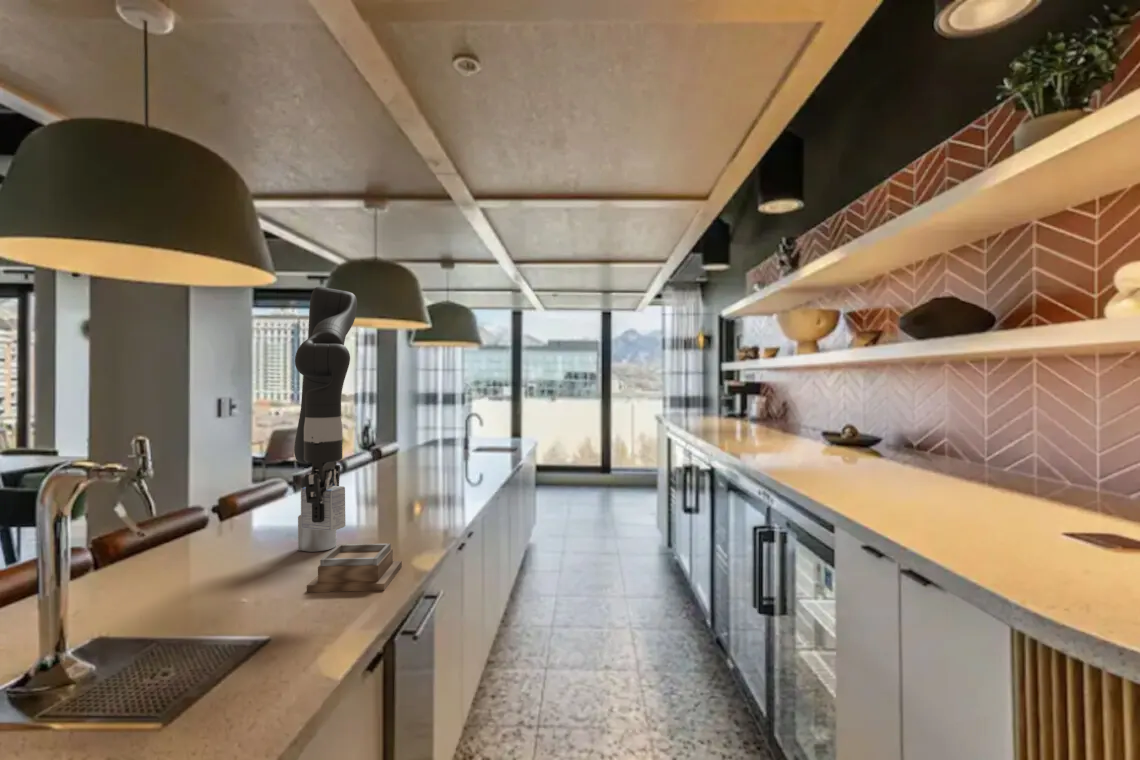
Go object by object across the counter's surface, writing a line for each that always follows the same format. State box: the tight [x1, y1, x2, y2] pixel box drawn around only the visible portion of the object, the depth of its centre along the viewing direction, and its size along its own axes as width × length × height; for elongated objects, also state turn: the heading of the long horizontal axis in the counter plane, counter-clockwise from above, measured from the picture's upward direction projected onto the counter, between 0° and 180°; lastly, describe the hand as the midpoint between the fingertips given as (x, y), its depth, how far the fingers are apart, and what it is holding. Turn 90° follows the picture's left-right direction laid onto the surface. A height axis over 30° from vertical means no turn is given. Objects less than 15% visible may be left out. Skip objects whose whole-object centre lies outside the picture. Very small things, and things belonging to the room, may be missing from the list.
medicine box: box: [300, 485, 346, 531], centre depth 126 cm, size 8×4×9 cm, turn 71°
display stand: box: [306, 543, 403, 593], centre depth 142 cm, size 17×17×6 cm
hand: (323, 518), depth 126 cm, fingers closed on medicine box, 5 cm apart
